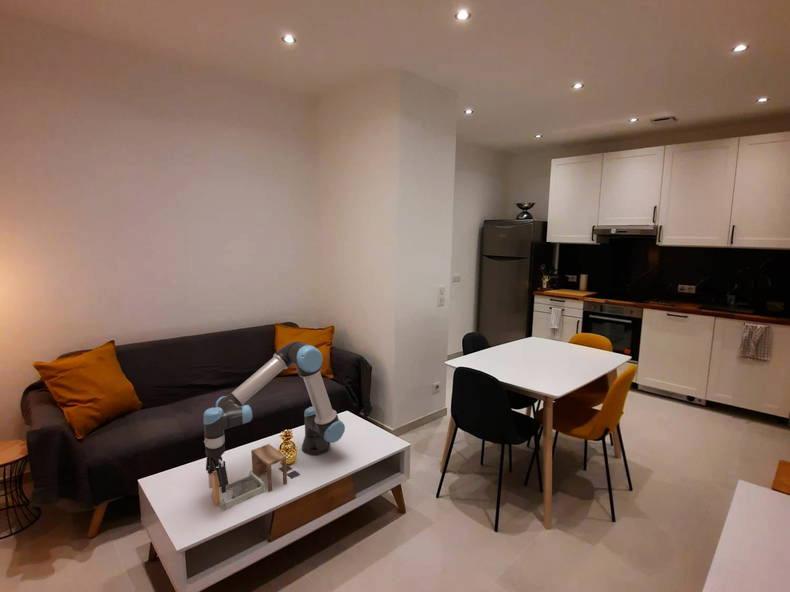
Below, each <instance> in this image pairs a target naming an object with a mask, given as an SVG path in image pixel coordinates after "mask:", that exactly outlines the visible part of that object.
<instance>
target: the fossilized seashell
mask: <svg viewBox="0 0 790 592" xmlns="http://www.w3.org/2000/svg"><path fill="white" fill-rule="evenodd" d="M257 486H258V484H257V483H255V482H254V481H252V480H249V479H245V480H242V481H240V482H238V483H237V484H236V485H235V487H234V488H232V490H233V491H232V493H231V500H232V499H234V498H236V497H239V496H241V495H243V494H245V493H248V492H250V491H252V490H254V489H257V488H258V487H257ZM253 497H254V496H252V497H250V498H253ZM250 498H248V499H247V500H249V499H250Z"/></svg>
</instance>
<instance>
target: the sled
mask: <svg viewBox="0 0 790 592" xmlns="http://www.w3.org/2000/svg"><path fill="white" fill-rule="evenodd" d="M248 473H249V474H248V475H247V476H244V477H242V478H240V479H237V480H235V481H232V482H230V483H228V485H226V492H227V491H229V490H233V489H234V487H235V485H236V484H237V483H238V482H240V481H242V480H245V479H249V480H252V481H254V482H255V483H257V484H258V486H257V489H254V490H252V491H250V492H248V493H245V494H243V495H241V496H239V497H236V498H234V499H232V498H231V499H230V500H228V501H226V502H225V499H223V500H221V501H220V497H219V487H218V486H219V485H220V484H219V480H218V476H217V472H216V470H215V471H214V472H213V473H211V477H212V488H211V489H212V490H211V497H212V503H213V504H214V506H220V507H221V509H223V510H226V509H228V508H230V507H232V506H235V505H236V504H237V505H238V504H239V503H242V502H243V501H246V500H249V499H250V497H251V498H253V497H254V496H256V495H259V494H260V493H263V492H265V482H264V481H263V480H262V479H261V478H260V477H259V476H258V477H257V476H256V475H255V474H254V473H253V472H252V471H249V472H248ZM252 496H253V497H252ZM248 498H249V499H248Z"/></svg>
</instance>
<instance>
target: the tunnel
mask: <svg viewBox="0 0 790 592" xmlns="http://www.w3.org/2000/svg"><path fill="white" fill-rule="evenodd" d="M280 462H281V463H282V465H281V467H282V471H283V472H282V471H281V472H282V485H283V486H286V485H288V476H287V474H288V471H287V466H286V465H287V456H286V455H285V454H283V453H282V452H281V451H279V450H278V449H276V448H275V447H274V446H273V445H271V444H270V443H268V444H265V445H263V446H260V447H257V448H255V449H252V450H251V470H252V471H251V472H253V473H254V474H255V475H256V476H257V477H258V478H259V477H260V476H262V475H264V474H267V491H268V493H272V491H273V473H272V469H273V468H272V465H275V464H278V463H280Z"/></svg>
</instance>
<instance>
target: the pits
mask: <svg viewBox="0 0 790 592" xmlns="http://www.w3.org/2000/svg"><path fill="white" fill-rule="evenodd" d="M293 469H294V468H293V467H291V466H290V465H289V466H287V478H289V477H290V478H289V479H291V480H293V479H294V477H295V478H296V477H300V476H301V473H299V472H298V471H296V470H293ZM278 470H279V471H280V472H282V473H283V471H282V466H281V467H279V468H278Z"/></svg>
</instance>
